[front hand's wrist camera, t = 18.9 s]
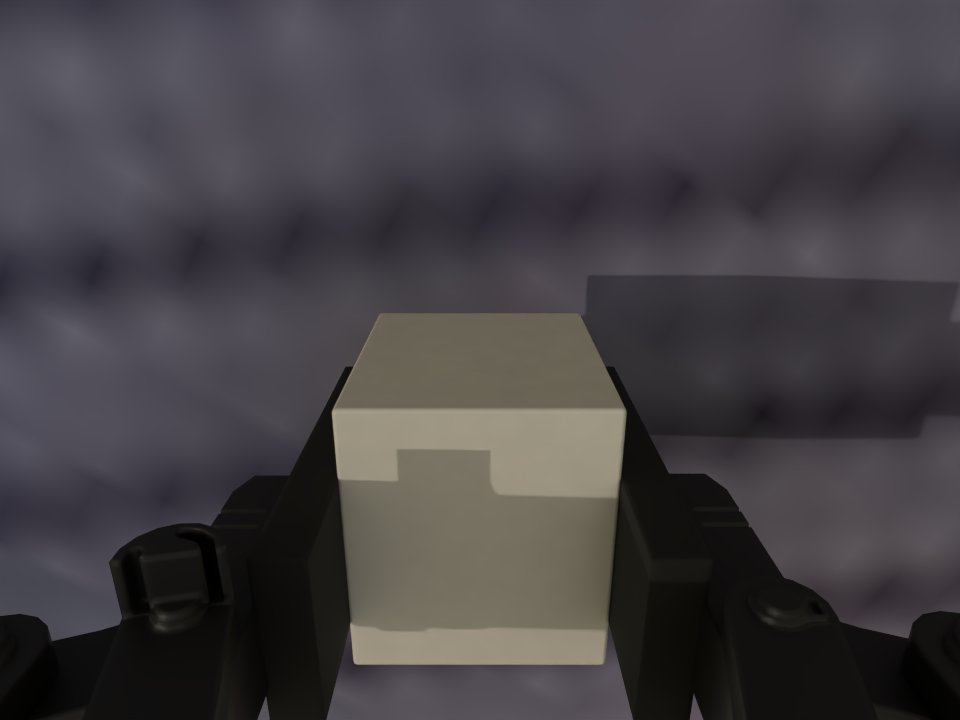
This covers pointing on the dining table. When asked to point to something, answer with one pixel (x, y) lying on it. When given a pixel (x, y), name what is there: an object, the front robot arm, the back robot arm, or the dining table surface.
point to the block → (479, 490)
